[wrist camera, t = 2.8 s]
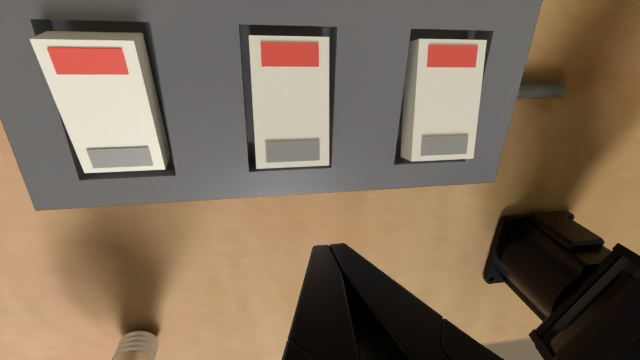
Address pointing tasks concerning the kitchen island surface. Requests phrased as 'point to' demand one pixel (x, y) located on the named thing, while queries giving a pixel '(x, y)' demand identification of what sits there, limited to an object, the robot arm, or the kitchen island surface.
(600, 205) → the kitchen island surface
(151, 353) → the lightbulb
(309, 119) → the rocker middle
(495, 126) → the rocker switch panel
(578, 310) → the robot arm
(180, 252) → the kitchen island surface
